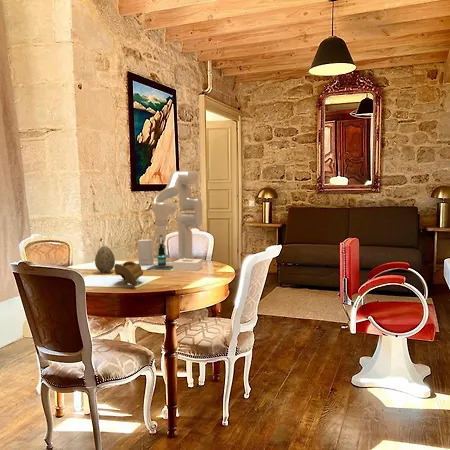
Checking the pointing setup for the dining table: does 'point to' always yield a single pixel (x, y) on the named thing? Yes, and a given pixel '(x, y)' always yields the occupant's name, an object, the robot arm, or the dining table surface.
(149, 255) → the skincare box
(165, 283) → the dining table surface
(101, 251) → the decorative egg
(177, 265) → the housing
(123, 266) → the brown looped sculpture
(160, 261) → the end cover
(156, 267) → the mat
